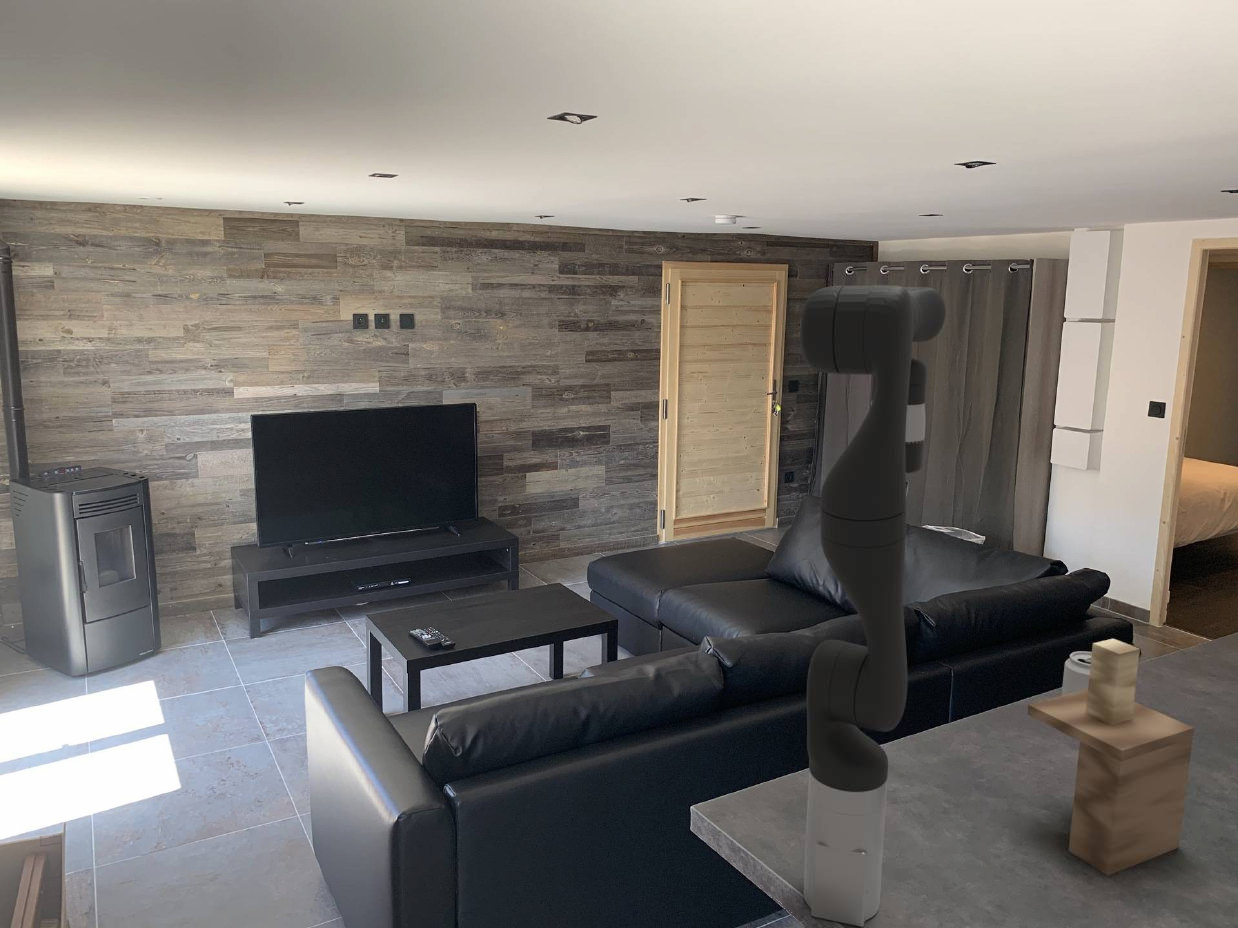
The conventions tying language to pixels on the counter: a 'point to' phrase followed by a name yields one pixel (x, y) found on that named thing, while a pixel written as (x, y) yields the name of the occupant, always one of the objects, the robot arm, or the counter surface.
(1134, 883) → the counter surface
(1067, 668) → the can
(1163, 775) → the walnut shelf
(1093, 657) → the oak block
